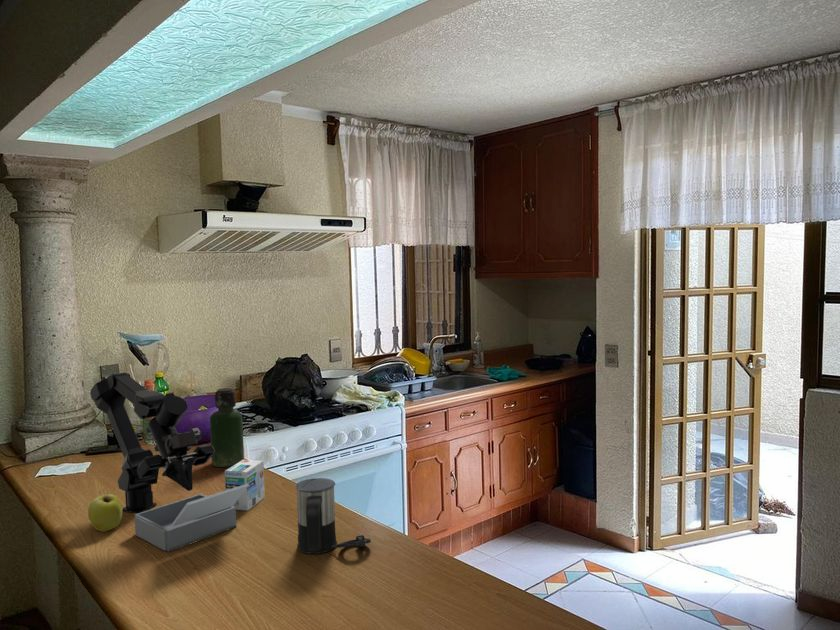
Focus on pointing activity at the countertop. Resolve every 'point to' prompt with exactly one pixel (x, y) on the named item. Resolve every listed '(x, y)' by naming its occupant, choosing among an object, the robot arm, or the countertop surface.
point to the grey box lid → (209, 504)
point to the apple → (105, 512)
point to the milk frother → (319, 517)
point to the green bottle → (226, 430)
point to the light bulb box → (246, 482)
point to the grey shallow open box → (180, 525)
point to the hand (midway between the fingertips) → (190, 489)
